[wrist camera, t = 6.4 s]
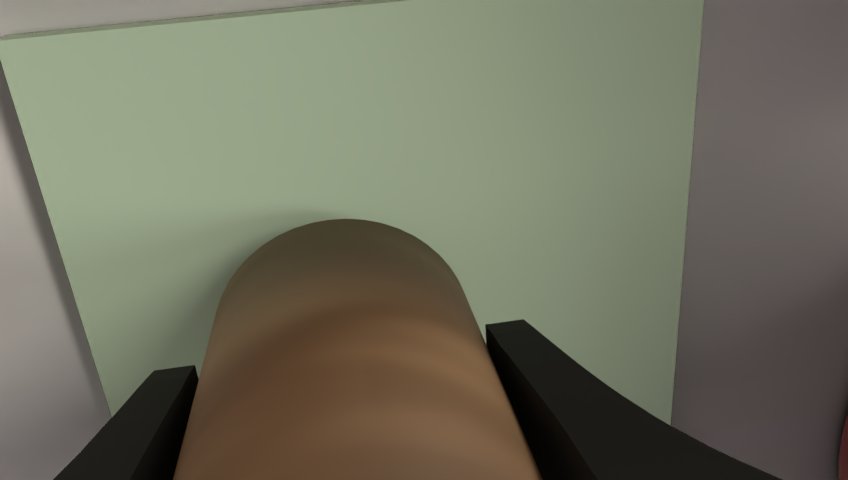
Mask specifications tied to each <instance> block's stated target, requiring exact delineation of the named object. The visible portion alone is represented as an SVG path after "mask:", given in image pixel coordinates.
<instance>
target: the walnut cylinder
mask: <svg viewBox="0 0 848 480" xmlns="http://www.w3.org/2000/svg"><path fill="white" fill-rule="evenodd" d="M173 480H543V478H542V476H541V474H540V471H539V469H538V467H537V464H536V462H535V459H534V457H533V455H532V452H531V450H530V448H529V445H528V443H527V440H526V438H525V436H524V433H523V431H522V428H521V426H520V424H519V421H518V419H517V417H516V414H515V412H514V409H513V407H512V405H511V402H510V400H509V398H508V395H507V393H506V390H505V388H504V386H503V383H502V381H501V379H500V376H499V374H498V371H497V369H496V367H495V364H494V362H493V360H492V357H491V355H490V352H489V350H488V348H487V345H486V343H485V341H484V338H483V336H482V333H481V331H480V329H479V326H478V324H477V322H476V319H475V317H474V314H473V312H472V310H471V307H470V305H469V303H468V300H467V298H466V295H465V293H464V291H463V289H462V287H461V284H460V282H459V280H458V278H457V277H456V275H455V274H454V272H453V271H452V269H451V268H450V266H449V265H448V264H447V263H446V262H445V261H444V259H443V258H442V257H441V256H440V255H439V254H438V253H437V252H436V251H434V250H433V249H432V248H431V247H430V246H429V245H427V244H426V243H424V242H423V241H421V240H420V239H418V238H417V237H415V236H413V235H411V234H409V233H407V232H405V231H403V230H401V229H399V228H396V227H393V226H390V225H386V224H383V223H379V222H374V221H368V220H361V219H332V220H325V221H319V222H314V223H309V224H306V225H303V226H300V227H297V228H294V229H292V230H289V231H287V232H285V233H283V234H281V235H278V236H277V237H275V238H273V239H272V240H270V241H269V242H267V243H265V244H264V245H262V246H261V247H260V248H259V249H257V250H256V251H255V252H254V253H253V254H251V255H250V256H249V257H248V258H247V259H246V260H245V261H244V263H243V264H242V265H241V266H240V267H239V268H238V269H237V271H236V272H235V273H234V275H233V276H232V278H231V279H230V281H229V282H228V284H227V286H226V288H225V290H224V292H223V294H222V296H221V299H220V302H219V305H218V308H217V311H216V315H215V319H214V323H213V326H212V330H211V334H210V338H209V342H208V346H207V349H206V353H205V357H204V361H203V365H202V369H201V373H200V376H199V380H198V384H197V388H196V392H195V396H194V400H193V403H192V407H191V411H190V415H189V419H188V423H187V427H186V430H185V434H184V438H183V442H182V446H181V450H180V453H179V457H178V461H177V465H176V469H175V473H174V477H173Z"/></svg>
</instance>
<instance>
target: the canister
mask: <svg viewBox="0 0 848 480" xmlns="http://www.w3.org/2000/svg"><path fill="white" fill-rule="evenodd" d="M838 478H839V480H848V415H847V418H846V422H845V425H844V430H843V434H842V439H841V444H840V452H839V465H838Z"/></svg>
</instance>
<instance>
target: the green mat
mask: <svg viewBox="0 0 848 480" xmlns="http://www.w3.org/2000/svg"><path fill="white" fill-rule="evenodd" d="M703 8H704V0H363V1H353V2H343V3H332V4H322V5H312V6H302V7H291V8H281V9H271V10H260V11H250V12H240V13H230V14H219V15H209V16H199V17H189V18H178V19H168V20H158V21H148V22H137V23H127V24H117V25H106V26H96V27H86V28H76V29H65V30H55V31H45V32H35V33H24V34H14V35H6V36H4V37H2V38H0V61H1V64H2V67H3V70H4V74H5V77H6V80H7V83H8V86H9V90H10V93H11V96H12V99H13V102H14V106H15V109H16V112H17V115H18V118H19V122H20V125H21V128H22V131H23V134H24V138H25V141H26V144H27V147H28V151H29V154H30V157H31V160H32V163H33V167H34V170H35V173H36V176H37V179H38V183H39V186H40V189H41V192H42V195H43V199H44V202H45V205H46V208H47V211H48V215H49V218H50V221H51V224H52V227H53V231H54V234H55V237H56V240H57V244H58V247H59V250H60V253H61V256H62V260H63V263H64V266H65V269H66V272H67V276H68V279H69V282H70V285H71V288H72V292H73V295H74V298H75V301H76V304H77V308H78V311H79V314H80V317H81V320H82V324H83V327H84V330H85V333H86V337H87V340H88V343H89V346H90V349H91V353H92V356H93V359H94V362H95V365H96V369H97V372H98V375H99V378H100V381H101V385H102V388H103V391H104V394H105V397H106V401H107V404H108V407H109V410H110V413H111V417H113V416H114V415H115V414H116V412H117V411H118V410H119V409H120V408H121V407H122V406H123V404H124V403H125V402H126V401H127V400H128V399H129V398H130V396H131V395H132V394H133V393H134V392H135V391H136V390H137V388H138V387H139V386H140V385H141V384H142V383H143V382H144V381H145V380H146V378H147V377H148V376H149V375H150V374H151V373H152V372H153V371H155V370H162V369H169V368H176V367H183V366H191V365H195V367H196V371H197V375H198V379H199V376H200V373H201V369H202V365H203V361H204V357H205V353H206V349H207V346H208V342H209V338H210V334H211V330H212V326H213V323H214V319H215V315H216V311H217V308H218V305H219V302H220V299H221V296H222V294H223V292H224V290H225V288H226V286H227V284H228V282H229V281H230V279H231V278H232V276H233V275H234V273H235V272H236V271H237V269H238V268H239V267H240V266H241V265H242V264H243V263H244V261H245V260H246V259H247V258H248V257H249V256H250V255H251V254H253V253H254V252H255V251H256V250H257V249H259V248H260V247H261V246H262V245H264V244H265V243H267V242H269V241H270V240H272V239H273V238H275V237H277V236H278V235H281V234H283V233H285V232H287V231H289V230H292V229H294V228H297V227H300V226H303V225H306V224H309V223H314V222H319V221H325V220H332V219H361V220H368V221H374V222H379V223H383V224H386V225H390V226H393V227H396V228H399V229H401V230H403V231H405V232H407V233H409V234H411V235H413V236H415V237H417V238H418V239H420V240H421V241H423V242H424V243H426V244H427V245H429V246H430V247H431V248H432V249H433V250H434V251H436V252H437V253H438V254H439V255H440V256H441V257H442V258H443V259H444V261H445V262H446V263H447V264H448V265H449V266H450V268H451V269H452V271H453V272H454V274H455V275H456V277H457V278H458V280H459V282H460V284H461V287H462V289H463V291H464V293H465V295H466V298H467V300H468V303H469V305H470V307H471V310H472V312H473V314H474V317H475V319H476V322H477V324H478V326H479V329H480V331H481V333H482V336H483V338H484V341H485V343H486V327H485V324H493V323H500V322H507V321H514V320H521V319H524V320H525V321H526V322H528V323H529V324H530V325H531V326H533V327H534V328H535V329H536V330H538V331H539V332H540V333H541V334H543V335H544V336H545V337H546V338H547V339H549V340H550V341H551V342H552V343H554V344H555V345H556V346H557V347H558V348H560V349H561V350H562V351H563V352H565V353H566V354H567V355H568V356H570V357H571V358H572V359H573V360H575V361H576V362H577V363H578V364H580V365H581V366H582V367H584V368H585V369H586V370H588V371H589V372H590V373H592V374H593V375H594V376H596V377H597V378H598V379H600V380H601V381H602V382H604V383H605V384H607V385H608V386H609V387H611V388H612V389H614V390H615V391H617V392H618V393H620V394H621V395H622V396H624V397H625V398H627V399H629V400H630V401H632V402H633V403H635V404H636V405H638V406H639V407H641V408H643V409H644V410H646V411H647V412H649V413H650V414H652V415H653V416H655V417H657V418H658V419H660V420H662V421H663V422H665V423H667V424H669V425H670V426H671V414H672V401H673V388H674V376H675V363H676V350H677V338H678V325H679V312H680V299H681V287H682V274H683V261H684V249H685V236H686V223H687V211H688V198H689V185H690V173H691V160H692V147H693V135H694V122H695V109H696V96H697V84H698V71H699V58H700V46H701V33H702V20H703Z"/></svg>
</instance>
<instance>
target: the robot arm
mask: <svg viewBox="0 0 848 480" xmlns="http://www.w3.org/2000/svg"><path fill="white" fill-rule="evenodd" d="M485 327H486V345H487V348H488V350H489V352H490V355H491V357H492V360H493V362H494V364H495V367H496V369H497V371H498V374H499V376H500V379H501V381H502V383H503V386H504V388H505V390H506V393H507V395H508V398H509V400H510V402H511V405H512V407H513V409H514V412H515V414H516V417H517V419H518V421H519V424H520V426H521V428H522V431H523V433H524V436H525V438H526V440H527V443H528V445H529V448H530V450H531V452H532V455H533V457H534V459H535V462H536V464H537V467H538V469H539V471H540V474H541V476H542V478H543V480H782V479H780V478H777V477H775V476H773V475H770V474H768V473H766V472H763V471H761V470H759V469H757V468H754V467H752V466H750V465H747V464H745V463H743V462H741V461H738V460H736V459H734V458H732V457H730V456H728V455H726V454H723V453H721V452H719V451H717V450H715V449H713V448H711V447H709V446H707V445H706V444H704V443H702V442H700V441H698V440H696V439H694V438H692V437H691V436H689V435H687V434H685V433H683V432H681V431H679V430H678V429H676V428H674V427H672V426H670V425H669V424H667V423H665V422H663V421H662V420H660V419H658V418H657V417H655V416H653V415H652V414H650V413H649V412H647V411H646V410H644V409H643V408H641V407H639V406H638V405H636V404H635V403H633V402H632V401H630V400H629V399H627V398H625V397H624V396H622V395H621V394H620V393H618V392H617V391H615V390H614V389H612V388H611V387H609V386H608V385H607V384H605V383H604V382H602V381H601V380H600V379H598V378H597V377H596V376H594V375H593V374H592V373H590V372H589V371H588V370H586V369H585V368H584V367H582V366H581V365H580V364H578V363H577V362H576V361H575V360H573V359H572V358H571V357H570V356H568V355H567V354H566V353H565V352H563V351H562V350H561V349H560V348H558V347H557V346H556V345H555V344H554V343H552V342H551V341H550V340H549V339H547V338H546V337H545V336H544V335H543V334H541V333H540V332H539V331H538V330H536V329H535V328H534V327H533V326H531V325H530V324H529V323H528V322H526V321H525V320H524V319H521V320H514V321H507V322H500V323H493V324H485ZM198 380H199V379H198V375H197V371H196V367H195V365H191V366H183V367H176V368H169V369H162V370H155V371H153V372H152V373H151V374H150V375H149V376H148V377H147V378H146V380H145V381H144V382H143V383H142V384H141V385H140V386H139V387H138V388H137V390H136V391H135V392H134V393H133V394H132V395H131V396H130V398H129V399H128V400H127V401H126V402H125V403H124V404H123V406H122V407H121V408H120V409H119V410H118V411H117V412H116V414H115V415H114V416H113V417H112V418H111V419H110V420H109V421H108V423H107V424H106V425H105V426H104V427H103V428H102V429H101V430H100V431H99V432H98V433H97V435H96V436H95V437H94V438H93V439H92V440H91V441H90V442H89V443H88V444H87V446H86V447H85V448H84V449H83V450H82V451H81V452H80V453H79V454H78V455H77V456H76V457H75V458H74V459H73V460H72V461H71V462H70V463H69V464H68V465H67V466H66V467H65V468H64V469H63V470H62V471H61V472H60V473H59V474H58V475H57V476H56V477H55V478H54V479H53V480H173V477H174V473H175V469H176V465H177V461H178V457H179V453H180V450H181V446H182V442H183V438H184V434H185V430H186V427H187V423H188V419H189V415H190V411H191V407H192V403H193V400H194V396H195V392H196V388H197V384H198Z"/></svg>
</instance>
